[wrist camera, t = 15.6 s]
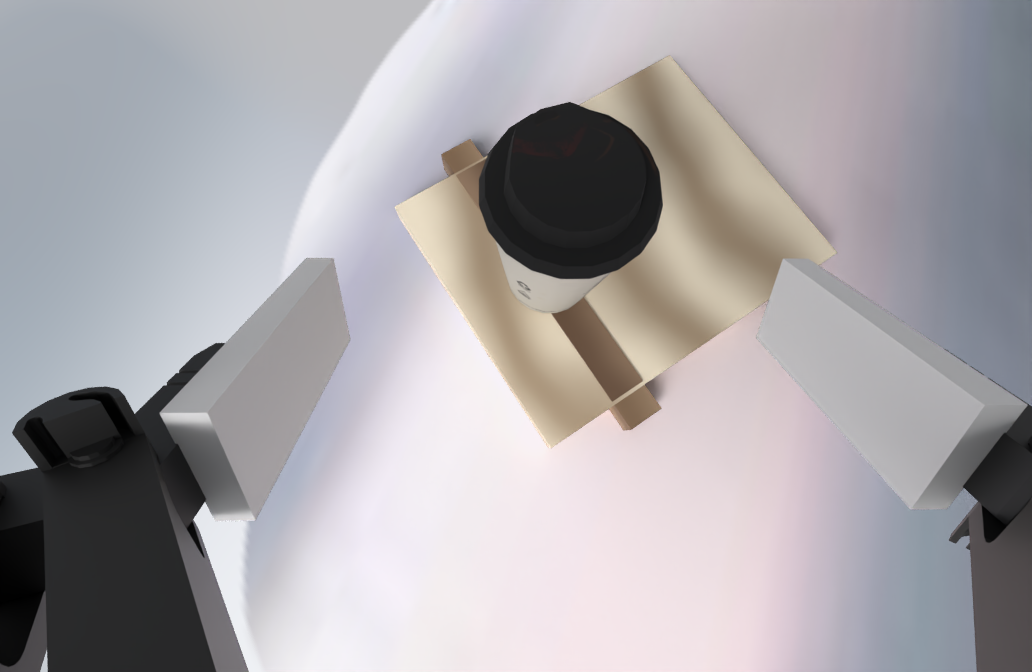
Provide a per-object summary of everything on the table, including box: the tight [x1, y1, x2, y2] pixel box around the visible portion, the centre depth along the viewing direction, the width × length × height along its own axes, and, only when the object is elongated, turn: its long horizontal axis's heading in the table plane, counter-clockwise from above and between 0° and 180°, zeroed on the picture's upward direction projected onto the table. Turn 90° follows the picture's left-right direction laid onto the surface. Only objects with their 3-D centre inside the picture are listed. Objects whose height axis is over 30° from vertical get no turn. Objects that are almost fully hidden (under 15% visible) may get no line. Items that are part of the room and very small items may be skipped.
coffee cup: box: [479, 102, 663, 313], centre depth 21 cm, size 7×7×10 cm
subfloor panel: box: [395, 55, 837, 448], centre depth 27 cm, size 20×19×2 cm
